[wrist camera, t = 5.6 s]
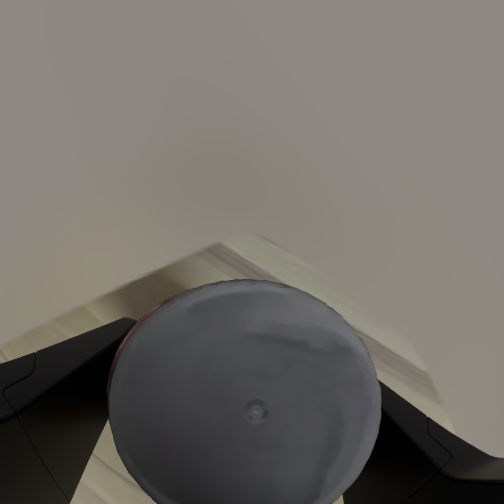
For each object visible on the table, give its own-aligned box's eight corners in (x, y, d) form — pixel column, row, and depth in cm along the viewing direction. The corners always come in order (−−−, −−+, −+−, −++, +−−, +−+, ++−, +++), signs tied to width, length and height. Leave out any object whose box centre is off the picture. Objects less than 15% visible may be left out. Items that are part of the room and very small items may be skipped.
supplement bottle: (155, 342, 14) (60, 218, 4) (269, 335, 15) (387, 212, 5) (165, 454, 11) (83, 569, 2) (283, 444, 13) (440, 510, 3)
